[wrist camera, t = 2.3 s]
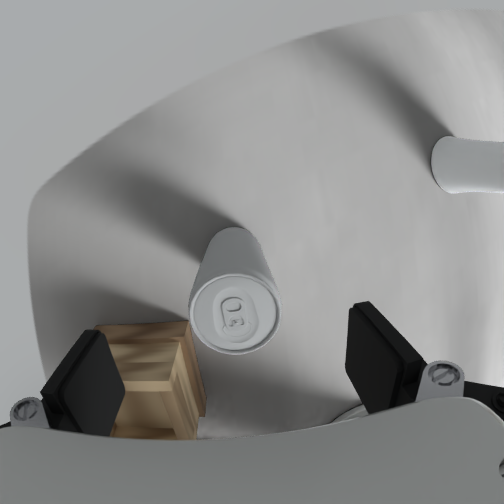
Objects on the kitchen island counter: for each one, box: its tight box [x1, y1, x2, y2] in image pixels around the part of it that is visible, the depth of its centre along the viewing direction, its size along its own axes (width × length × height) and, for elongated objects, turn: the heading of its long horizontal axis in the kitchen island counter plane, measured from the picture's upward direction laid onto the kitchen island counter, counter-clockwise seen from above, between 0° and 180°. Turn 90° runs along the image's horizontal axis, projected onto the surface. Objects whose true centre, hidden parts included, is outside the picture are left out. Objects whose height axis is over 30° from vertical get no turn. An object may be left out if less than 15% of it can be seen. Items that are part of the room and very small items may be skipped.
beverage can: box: [188, 227, 282, 355], centre depth 20 cm, size 5×5×12 cm
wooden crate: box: [93, 321, 206, 440], centre depth 24 cm, size 10×10×8 cm
